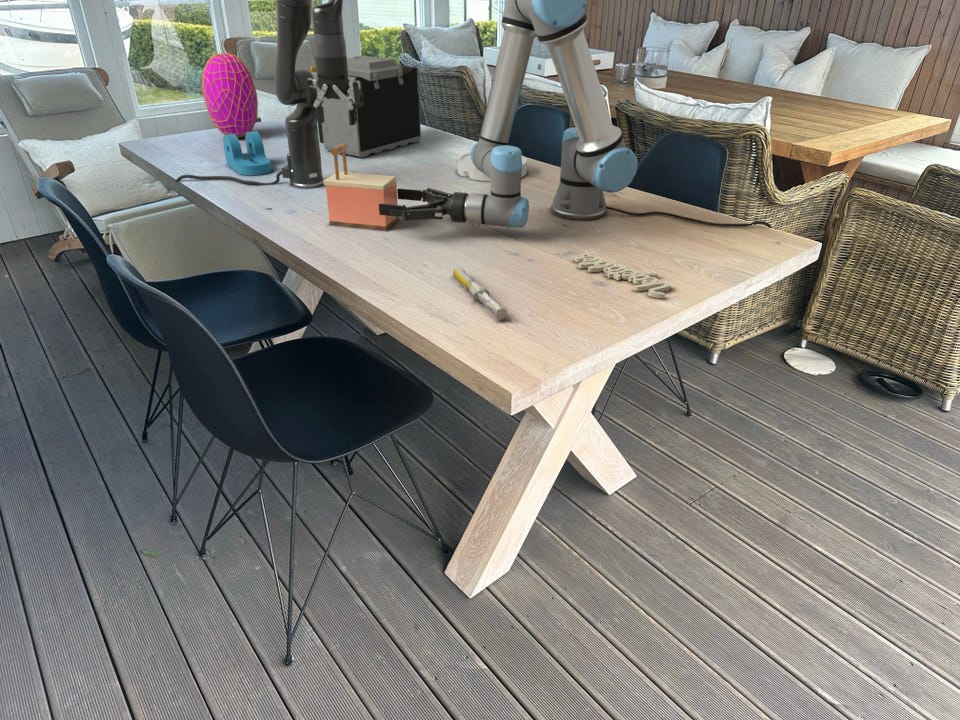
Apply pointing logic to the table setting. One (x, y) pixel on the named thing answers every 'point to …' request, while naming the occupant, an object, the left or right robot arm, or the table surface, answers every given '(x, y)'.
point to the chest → (360, 206)
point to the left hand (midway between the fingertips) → (337, 123)
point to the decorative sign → (625, 274)
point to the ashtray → (469, 169)
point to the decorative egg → (230, 94)
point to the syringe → (479, 293)
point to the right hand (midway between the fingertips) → (388, 201)
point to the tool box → (374, 108)
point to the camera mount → (246, 154)
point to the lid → (355, 175)
